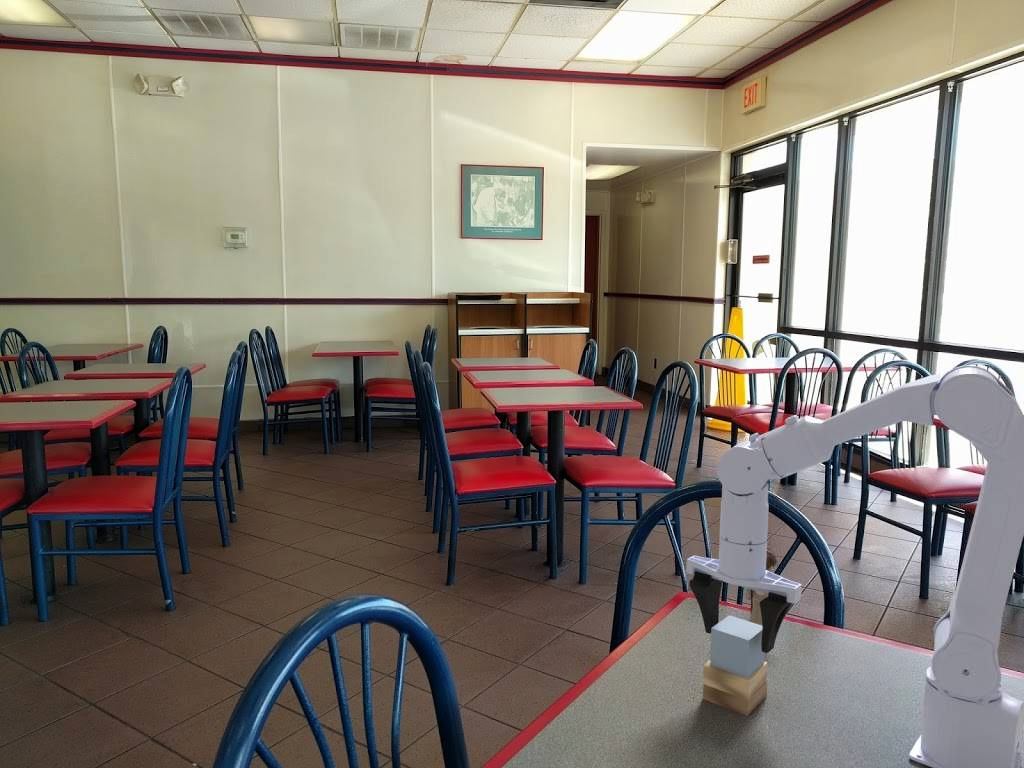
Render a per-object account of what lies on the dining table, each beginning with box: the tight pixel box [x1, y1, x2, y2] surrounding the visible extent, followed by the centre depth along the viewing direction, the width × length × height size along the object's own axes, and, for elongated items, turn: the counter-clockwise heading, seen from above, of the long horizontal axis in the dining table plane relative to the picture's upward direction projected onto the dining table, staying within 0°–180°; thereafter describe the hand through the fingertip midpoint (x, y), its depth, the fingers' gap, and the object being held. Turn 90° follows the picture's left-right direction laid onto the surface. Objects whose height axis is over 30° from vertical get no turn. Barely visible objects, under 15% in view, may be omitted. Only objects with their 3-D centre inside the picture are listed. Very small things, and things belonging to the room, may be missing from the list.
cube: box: [709, 614, 766, 678], centre depth 95 cm, size 5×5×5 cm
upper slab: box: [702, 659, 768, 700], centre depth 96 cm, size 6×6×2 cm
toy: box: [744, 539, 780, 625], centre depth 115 cm, size 6×6×15 cm
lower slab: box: [702, 679, 768, 717], centre depth 96 cm, size 6×6×2 cm
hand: (738, 639), depth 95 cm, fingers open, 7 cm apart
